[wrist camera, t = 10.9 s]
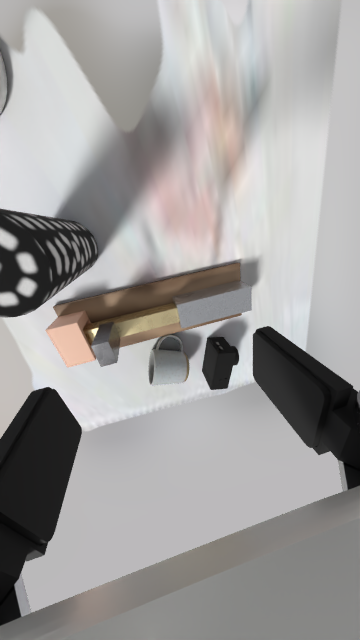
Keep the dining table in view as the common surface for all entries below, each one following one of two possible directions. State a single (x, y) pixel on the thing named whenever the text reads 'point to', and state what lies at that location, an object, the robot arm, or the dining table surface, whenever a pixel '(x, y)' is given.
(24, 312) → the spotted tube
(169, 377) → the ceramic mug
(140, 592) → the robot arm
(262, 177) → the dining table surface
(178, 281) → the walnut board
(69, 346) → the terracotta socket
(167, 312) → the hammer
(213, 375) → the digital camera
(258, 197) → the dining table surface
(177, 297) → the metal sleeve
